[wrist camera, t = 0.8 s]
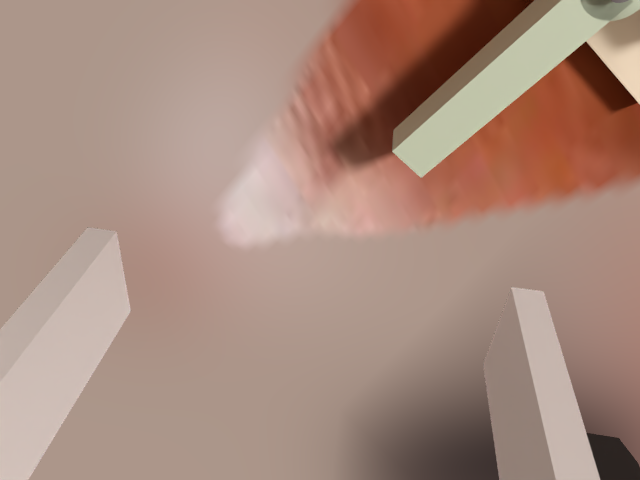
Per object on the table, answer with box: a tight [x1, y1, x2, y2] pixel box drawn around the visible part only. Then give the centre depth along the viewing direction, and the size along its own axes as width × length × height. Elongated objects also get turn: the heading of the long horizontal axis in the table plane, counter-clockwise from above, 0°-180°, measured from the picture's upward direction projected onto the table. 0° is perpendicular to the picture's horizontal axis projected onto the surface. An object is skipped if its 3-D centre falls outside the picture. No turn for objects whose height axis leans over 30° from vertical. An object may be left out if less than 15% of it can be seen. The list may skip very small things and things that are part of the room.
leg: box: [392, 0, 640, 177], centre depth 24 cm, size 12×3×3 cm, turn 139°
